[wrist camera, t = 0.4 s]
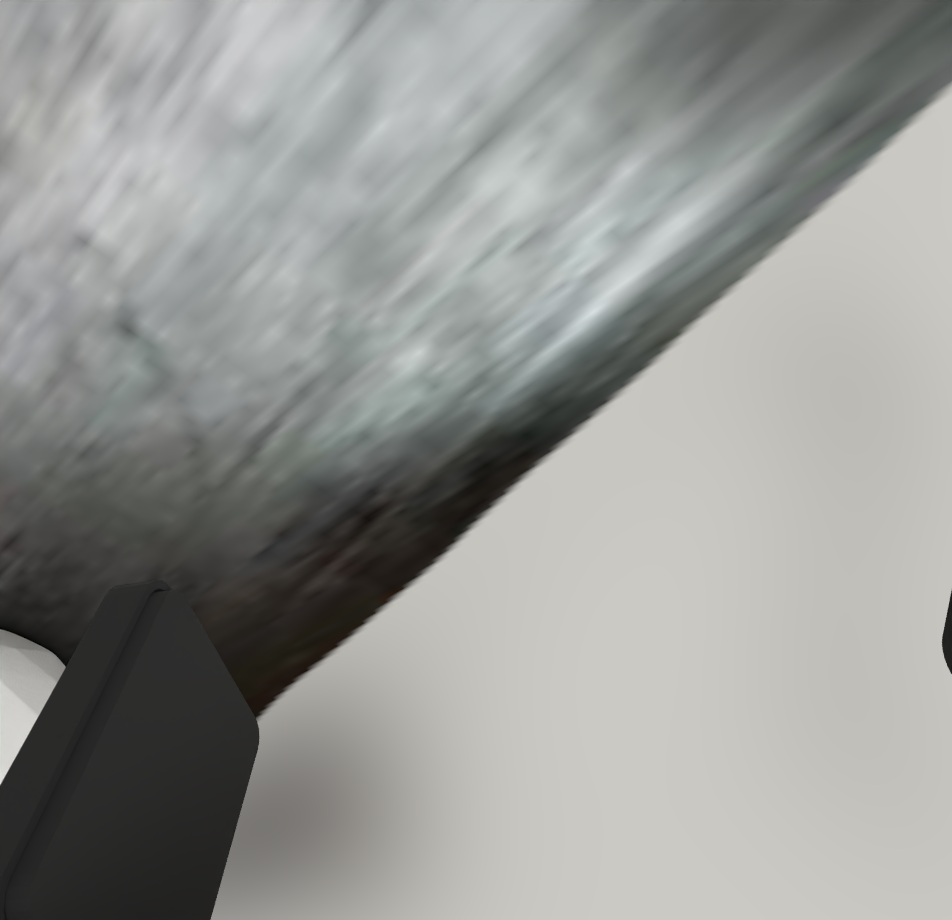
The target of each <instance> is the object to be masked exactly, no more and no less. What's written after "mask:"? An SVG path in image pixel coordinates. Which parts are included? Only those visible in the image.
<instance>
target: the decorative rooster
mask: <svg viewBox="0 0 952 920" xmlns="http://www.w3.org/2000/svg"><path fill="white" fill-rule="evenodd" d="M65 668H66V667H65V665H64V664H63V663H62V662H61V661H60V659H59V658H58V657H57V656H56V655H55V654H54V653H52V652H51V651H49V650H47V649H45V648H44V647H42V646H40V645H38V644H36V643H34V642H32V641H30V640H27V639H26V638H23V637H21V636H18V635H16V634H14V633H11V632H8V631H5V630H2V629H0V784H1V783H2V781H3V779H4V777H5V775H6V774H7V772H8V770H9V768H10V766H11V765H12V763H13V761H14V759H15V757H16V756H17V754H18V752H19V750H20V748H21V747H22V745H23V743H24V741H25V739H26V738H27V736H28V734H29V732H30V730H31V729H32V727H33V725H34V723H35V722H36V720H37V718H38V716H39V714H40V713H41V711H42V709H43V707H44V705H45V704H46V702H47V700H48V698H49V696H50V695H51V693H52V691H53V689H54V687H55V686H56V684H57V682H58V680H59V678H60V677H61V675H62V673H63V671H64V669H65Z"/></svg>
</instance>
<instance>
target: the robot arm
mask: <svg viewBox="0 0 952 920" xmlns="http://www.w3.org/2000/svg"><path fill="white" fill-rule="evenodd" d="M942 638H943V639H942V647H943V653H944V658H945V660H946V663H947V666H948V668H949V670H950V672H951V674H952V591H951V597H950V602H949V607H948V612H947V617H946V622H945V627H944V632H943V637H942ZM258 745H259V728H258V724H257V721H256V718H255V716H254V715H253V713H252V711H251V709H250V708H249V706H248V704H247V703H246V701H245V699H244V697H243V696H242V694H241V692H240V691H239V689H238V687H237V685H236V684H235V682H234V680H233V678H232V677H231V675H230V673H229V672H228V670H227V668H226V666H225V665H224V663H223V661H222V660H221V658H220V656H219V654H218V653H217V651H216V649H215V647H214V646H213V644H212V642H211V641H210V639H209V637H208V635H207V634H206V632H205V630H204V629H203V627H202V625H201V623H200V622H199V620H198V618H197V616H196V615H195V613H194V611H193V610H192V608H191V606H190V604H189V603H188V601H187V599H186V598H185V596H184V595H183V593H182V592H181V591H179V590H177V589H173V590H172V589H171V588H170V587H169V585H168V584H167V583H165V582H164V581H162V580H154V581H147V582H140V583H133V584H126V585H119V586H116V587H114V588H112V589H110V591H109V592H108V593H107V595H106V596H105V598H104V599H103V601H102V603H101V605H100V607H99V608H98V610H97V612H96V614H95V616H94V617H93V619H92V621H91V623H90V625H89V626H88V628H87V630H86V632H85V634H84V635H83V637H82V639H81V641H80V643H79V644H78V646H77V648H76V650H75V652H74V653H73V655H72V657H71V659H70V660H69V662H68V664H67V666H66V668H65V669H64V671H63V673H62V675H61V677H60V678H59V680H58V682H57V684H56V686H55V687H54V689H53V691H52V693H51V695H50V696H49V698H48V700H47V702H46V704H45V705H44V707H43V709H42V711H41V713H40V714H39V716H38V718H37V720H36V722H35V723H34V725H33V727H32V729H31V730H30V732H29V734H28V736H27V738H26V739H25V741H24V743H23V745H22V747H21V748H20V750H19V752H18V754H17V756H16V757H15V759H14V761H13V763H12V765H11V766H10V768H9V770H8V772H7V774H6V775H5V777H4V779H3V781H2V783H1V784H0V920H210V919H211V915H212V912H213V908H214V905H215V901H216V898H217V894H218V891H219V887H220V883H221V880H222V876H223V873H224V869H225V865H226V862H227V858H228V854H229V851H230V847H231V844H232V840H233V837H234V833H235V829H236V826H237V822H238V818H239V815H240V811H241V808H242V804H243V800H244V797H245V793H246V790H247V786H248V782H249V779H250V775H251V772H252V768H253V764H254V761H255V757H256V754H257V750H258Z"/></svg>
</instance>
